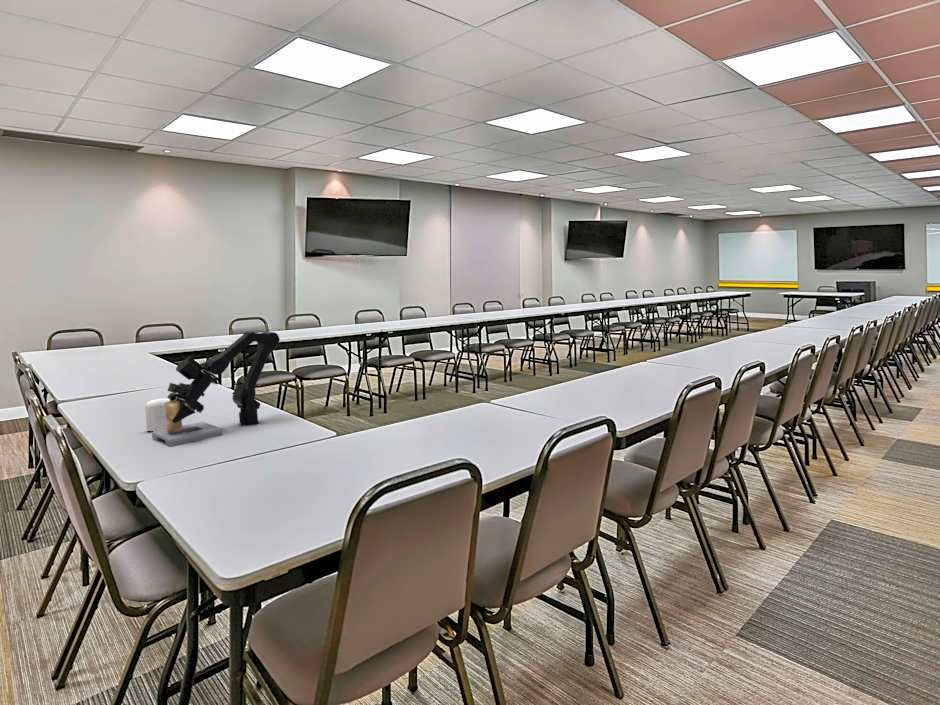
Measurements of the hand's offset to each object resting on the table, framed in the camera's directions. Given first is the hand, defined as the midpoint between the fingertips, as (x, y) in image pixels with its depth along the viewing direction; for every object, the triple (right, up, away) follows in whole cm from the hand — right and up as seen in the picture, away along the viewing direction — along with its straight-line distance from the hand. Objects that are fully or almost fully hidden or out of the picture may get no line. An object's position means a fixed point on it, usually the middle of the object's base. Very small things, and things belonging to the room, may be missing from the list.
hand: (170, 421), depth 212 cm
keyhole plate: (+4, -6, +5) cm, 9 cm away
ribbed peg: (+1, -7, +2) cm, 7 cm away
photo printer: (-11, -5, +16) cm, 20 cm away
